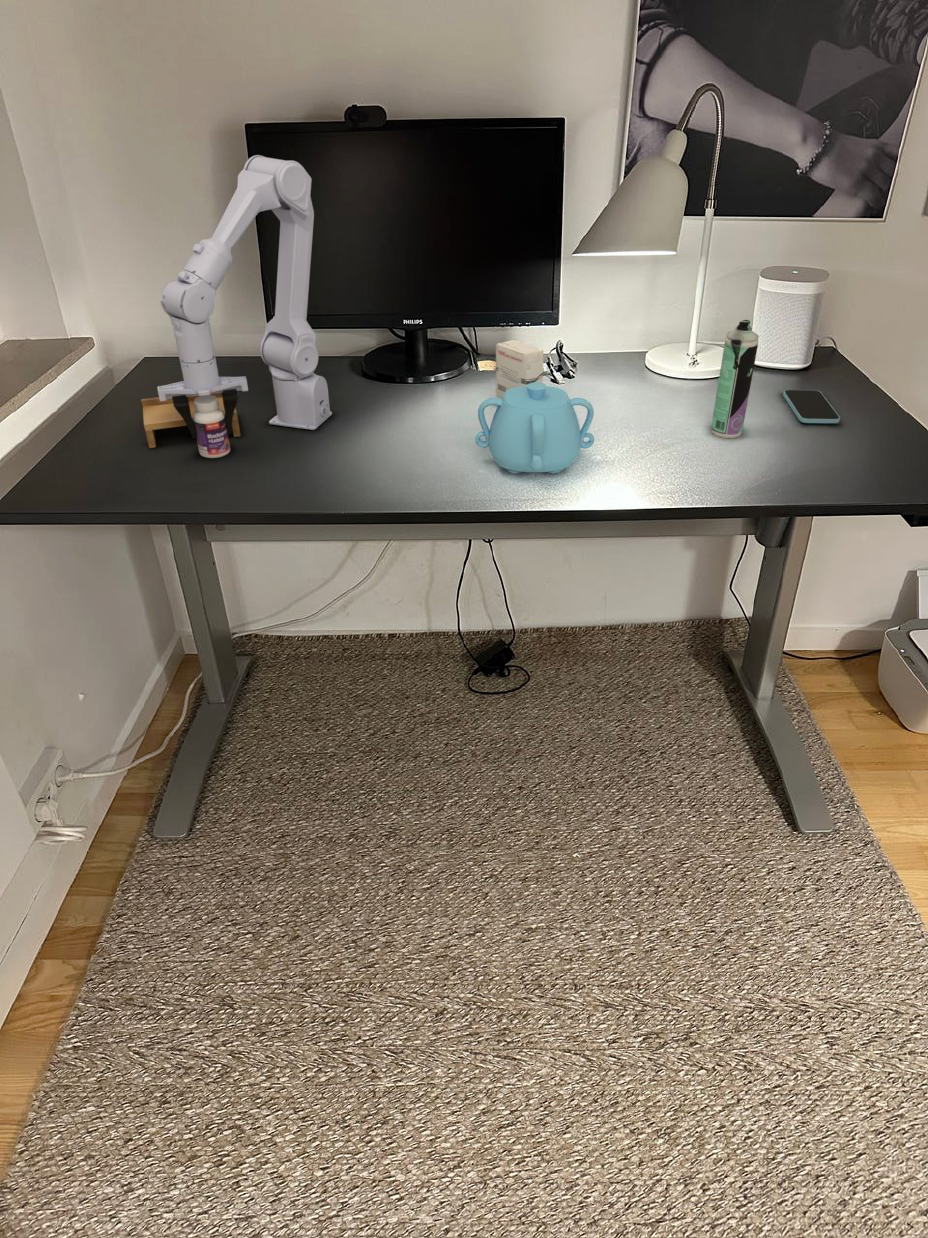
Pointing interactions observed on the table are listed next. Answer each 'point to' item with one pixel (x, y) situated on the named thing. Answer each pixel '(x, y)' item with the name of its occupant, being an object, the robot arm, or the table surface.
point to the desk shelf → (173, 416)
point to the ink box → (517, 366)
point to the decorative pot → (535, 429)
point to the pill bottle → (210, 427)
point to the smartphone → (811, 406)
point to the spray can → (734, 381)
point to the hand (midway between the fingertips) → (211, 434)
